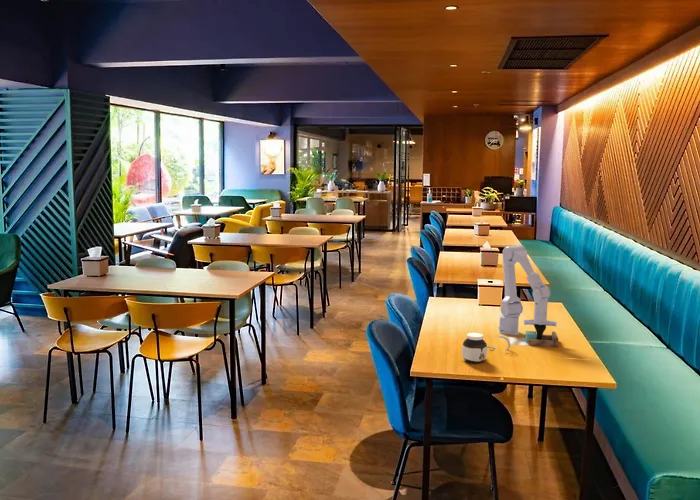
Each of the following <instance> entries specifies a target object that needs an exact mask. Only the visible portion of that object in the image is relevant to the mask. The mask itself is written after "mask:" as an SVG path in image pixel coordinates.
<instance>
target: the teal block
mask: <svg viewBox="0 0 700 500" xmlns="http://www.w3.org/2000/svg"><path fill="white" fill-rule="evenodd" d="M525 338H526V343H528V341H529V339H536V338H537V332H536V331H534V330H533V331H531V330H530V331H528V330H526V331H525Z"/></svg>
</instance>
